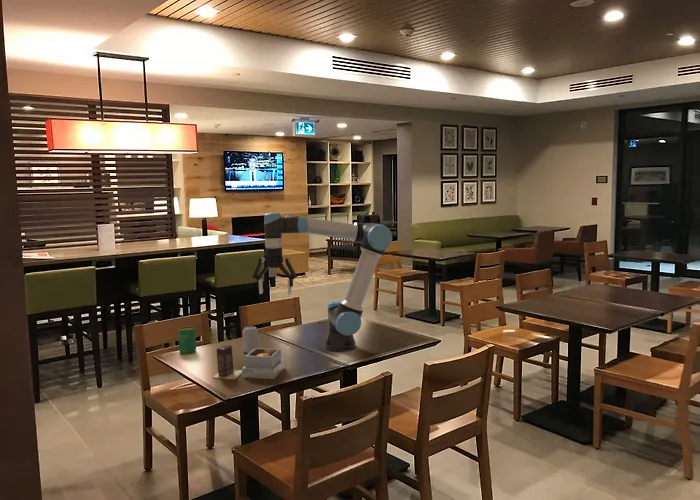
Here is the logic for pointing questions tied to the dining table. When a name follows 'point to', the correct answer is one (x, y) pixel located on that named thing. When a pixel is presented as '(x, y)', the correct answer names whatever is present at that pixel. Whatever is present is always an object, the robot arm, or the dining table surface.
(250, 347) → the can
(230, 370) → the box
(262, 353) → the plunger
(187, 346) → the beverage can
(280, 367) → the box
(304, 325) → the dining table surface
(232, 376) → the coaster
